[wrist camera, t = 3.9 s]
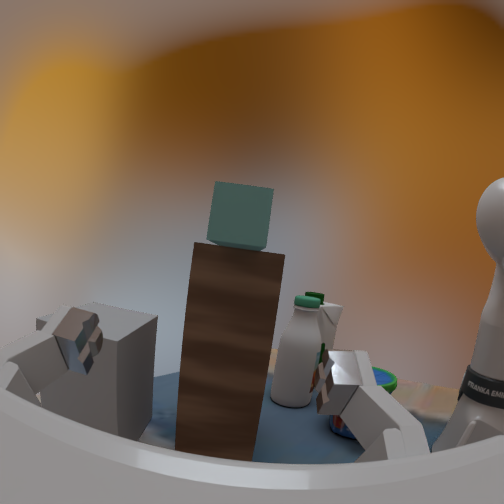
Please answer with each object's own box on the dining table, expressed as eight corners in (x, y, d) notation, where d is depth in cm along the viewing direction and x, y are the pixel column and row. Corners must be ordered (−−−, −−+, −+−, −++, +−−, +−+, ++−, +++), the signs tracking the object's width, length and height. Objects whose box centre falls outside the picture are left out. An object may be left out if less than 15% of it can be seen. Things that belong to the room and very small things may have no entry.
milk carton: (278, 376, 65) (292, 289, 66) (305, 371, 71) (319, 291, 71) (306, 391, 58) (323, 296, 59) (333, 383, 64) (349, 297, 64)
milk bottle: (300, 412, 48) (321, 301, 48) (262, 399, 52) (279, 294, 53) (316, 398, 55) (335, 299, 55) (281, 388, 59) (297, 292, 59)
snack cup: (323, 405, 51) (334, 356, 52) (377, 413, 48) (391, 363, 48) (313, 448, 36) (329, 386, 37) (384, 456, 33) (405, 395, 34)
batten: (265, 247, 18) (273, 188, 18) (206, 239, 18) (215, 181, 18) (255, 253, 40) (259, 226, 40) (228, 249, 40) (232, 222, 40)
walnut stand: (245, 488, 27) (285, 254, 27) (174, 477, 26) (194, 242, 27) (245, 423, 43) (270, 256, 43) (194, 415, 42) (213, 248, 43)
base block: (120, 469, 25) (117, 341, 26) (47, 441, 25) (36, 318, 26) (152, 416, 39) (157, 315, 40) (92, 400, 39) (93, 302, 40)
